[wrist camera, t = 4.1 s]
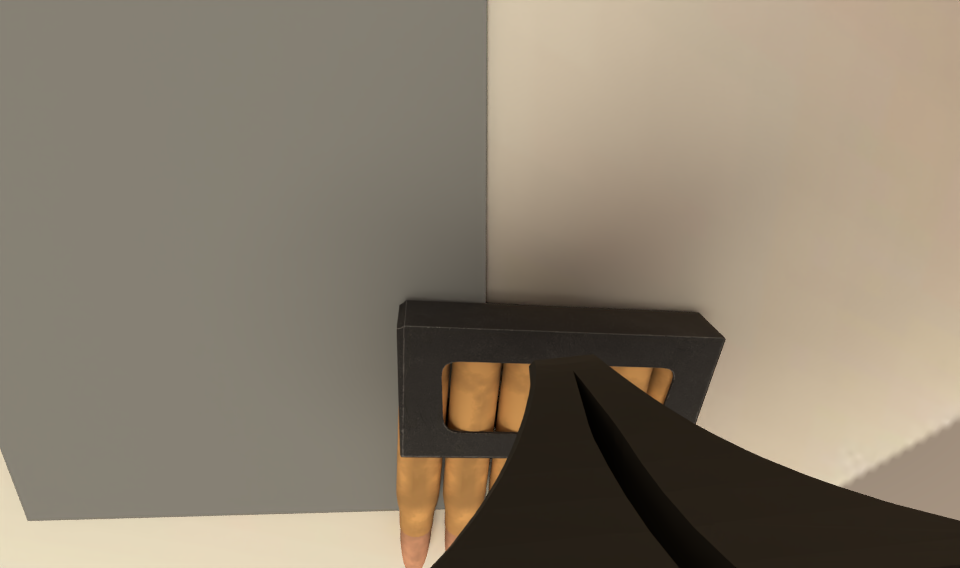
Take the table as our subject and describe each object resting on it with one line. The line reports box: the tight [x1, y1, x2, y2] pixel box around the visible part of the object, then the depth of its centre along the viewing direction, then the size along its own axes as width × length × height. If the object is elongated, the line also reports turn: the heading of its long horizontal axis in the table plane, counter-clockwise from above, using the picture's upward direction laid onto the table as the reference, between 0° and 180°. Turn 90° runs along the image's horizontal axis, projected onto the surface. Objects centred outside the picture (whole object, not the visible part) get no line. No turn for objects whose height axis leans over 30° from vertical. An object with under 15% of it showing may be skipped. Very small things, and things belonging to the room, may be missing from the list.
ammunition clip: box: [396, 300, 726, 568], centre depth 20 cm, size 11×2×12 cm
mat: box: [0, 0, 487, 521], centre depth 18 cm, size 18×20×1 cm
